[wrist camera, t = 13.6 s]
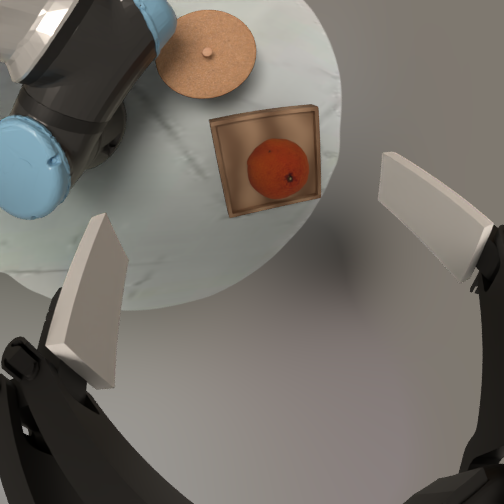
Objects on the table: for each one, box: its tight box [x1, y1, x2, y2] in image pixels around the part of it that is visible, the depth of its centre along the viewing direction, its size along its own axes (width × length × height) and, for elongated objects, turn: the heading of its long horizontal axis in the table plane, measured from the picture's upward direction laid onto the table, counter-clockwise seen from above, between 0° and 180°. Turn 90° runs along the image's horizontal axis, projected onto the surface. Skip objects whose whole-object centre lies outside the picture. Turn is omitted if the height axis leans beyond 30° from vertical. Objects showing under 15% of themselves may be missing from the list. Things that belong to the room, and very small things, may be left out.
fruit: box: [247, 139, 309, 199], centre depth 38 cm, size 9×9×8 cm
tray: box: [209, 104, 321, 218], centre depth 43 cm, size 16×16×7 cm
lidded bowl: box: [155, 10, 256, 99], centre depth 29 cm, size 13×13×11 cm
